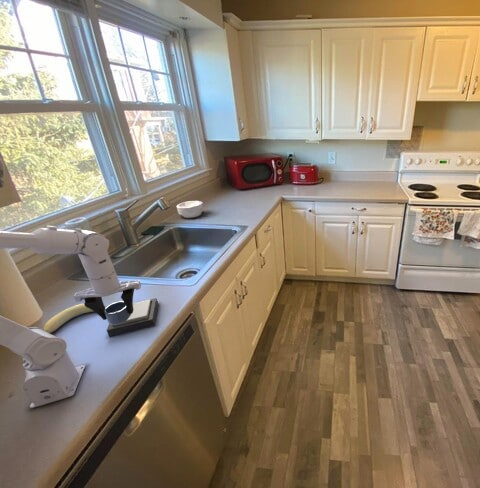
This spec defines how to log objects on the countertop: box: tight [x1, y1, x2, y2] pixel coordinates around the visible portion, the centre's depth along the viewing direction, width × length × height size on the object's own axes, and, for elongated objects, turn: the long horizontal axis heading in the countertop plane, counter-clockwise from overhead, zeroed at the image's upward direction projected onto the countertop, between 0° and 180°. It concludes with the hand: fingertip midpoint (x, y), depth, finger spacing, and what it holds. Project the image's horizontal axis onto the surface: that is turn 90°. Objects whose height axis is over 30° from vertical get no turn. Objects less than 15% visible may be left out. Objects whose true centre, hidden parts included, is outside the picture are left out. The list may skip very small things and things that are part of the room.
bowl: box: [103, 300, 131, 324], centre depth 79 cm, size 6×6×4 cm
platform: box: [113, 299, 151, 326], centre depth 89 cm, size 9×9×1 cm
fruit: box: [42, 302, 96, 334], centre depth 90 cm, size 7×15×3 cm, turn 145°
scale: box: [106, 297, 159, 338], centre depth 90 cm, size 12×12×2 cm
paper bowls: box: [176, 200, 205, 219], centre depth 176 cm, size 15×15×8 cm
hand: (119, 314), depth 79 cm, fingers closed on bowl, 5 cm apart
